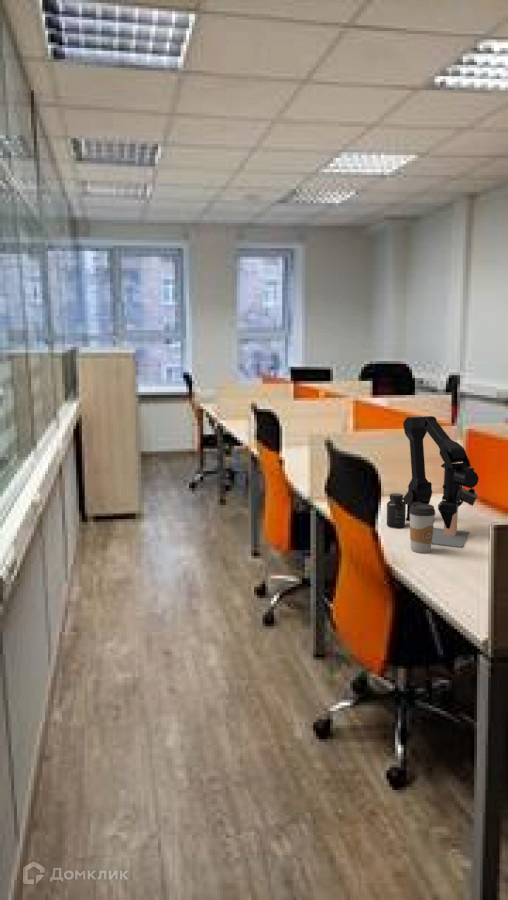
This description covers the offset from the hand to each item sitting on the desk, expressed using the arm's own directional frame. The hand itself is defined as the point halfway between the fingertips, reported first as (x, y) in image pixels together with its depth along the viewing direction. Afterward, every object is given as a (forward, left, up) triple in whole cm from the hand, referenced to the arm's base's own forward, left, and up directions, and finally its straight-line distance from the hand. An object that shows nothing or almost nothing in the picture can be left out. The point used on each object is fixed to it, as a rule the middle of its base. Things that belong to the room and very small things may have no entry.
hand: (450, 525), depth 239 cm
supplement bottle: (-20, +3, -4) cm, 21 cm away
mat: (0, -5, -4) cm, 6 cm away
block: (0, 0, -3) cm, 3 cm away
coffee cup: (-6, -22, -4) cm, 23 cm away
